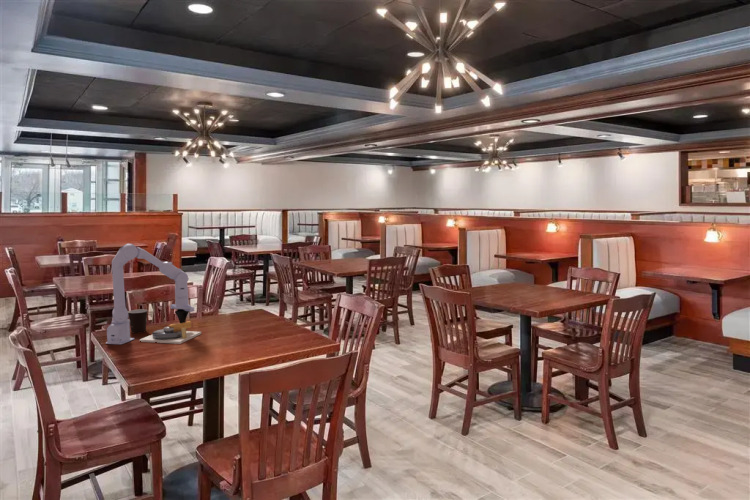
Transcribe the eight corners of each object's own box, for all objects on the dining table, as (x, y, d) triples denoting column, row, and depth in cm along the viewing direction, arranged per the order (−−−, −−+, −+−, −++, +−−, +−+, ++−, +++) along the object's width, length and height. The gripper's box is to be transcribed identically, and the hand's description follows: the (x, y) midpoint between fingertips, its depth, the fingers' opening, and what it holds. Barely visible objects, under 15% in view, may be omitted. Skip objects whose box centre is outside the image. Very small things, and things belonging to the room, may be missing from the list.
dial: (162, 340, 234) (162, 330, 234) (146, 335, 243) (146, 325, 242) (198, 332, 248) (198, 323, 248) (182, 328, 257) (181, 319, 256)
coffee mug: (143, 333, 252) (142, 313, 251) (125, 333, 252) (124, 313, 251) (154, 327, 264) (153, 308, 263) (136, 327, 264) (136, 308, 263)
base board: (180, 343, 234) (179, 331, 234) (139, 341, 238) (139, 329, 237) (201, 333, 252) (200, 322, 251) (163, 331, 256) (162, 320, 255)
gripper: (199, 296, 249) (199, 325, 250) (178, 294, 256) (179, 321, 258) (186, 299, 243) (187, 328, 244) (166, 296, 250) (167, 324, 252)
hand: (182, 325), depth 250 cm, fingers closed, pressing on dial
